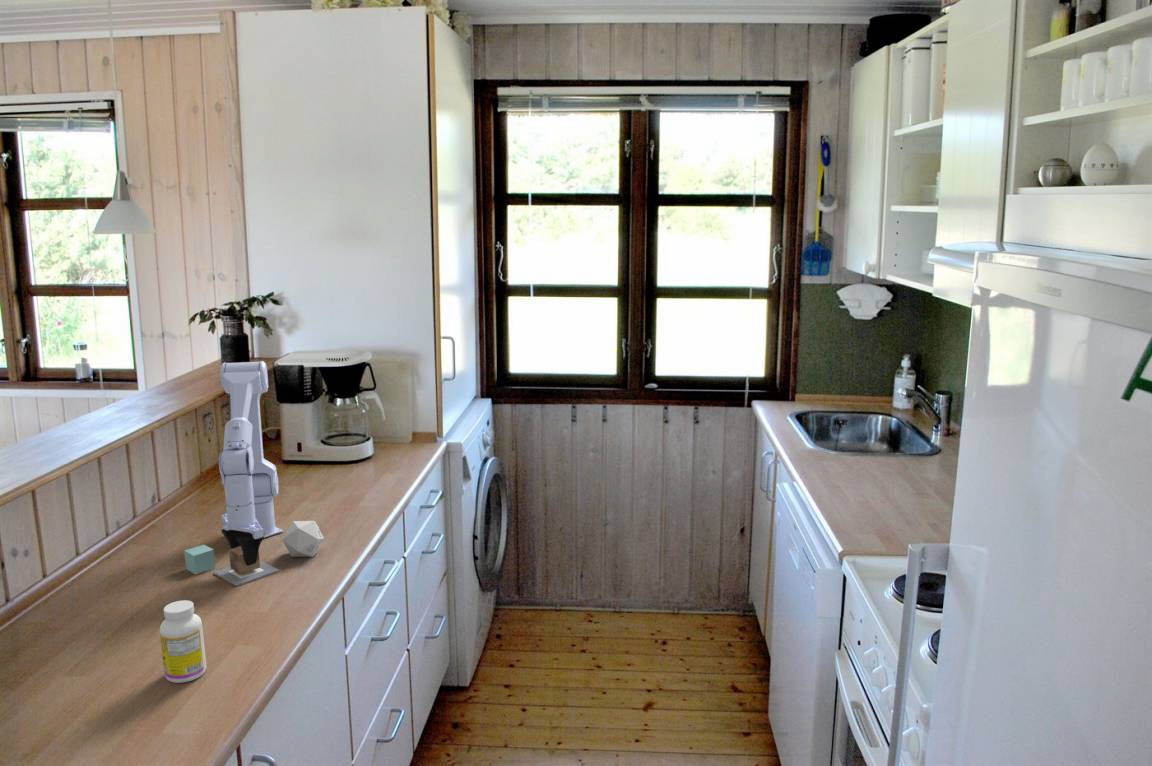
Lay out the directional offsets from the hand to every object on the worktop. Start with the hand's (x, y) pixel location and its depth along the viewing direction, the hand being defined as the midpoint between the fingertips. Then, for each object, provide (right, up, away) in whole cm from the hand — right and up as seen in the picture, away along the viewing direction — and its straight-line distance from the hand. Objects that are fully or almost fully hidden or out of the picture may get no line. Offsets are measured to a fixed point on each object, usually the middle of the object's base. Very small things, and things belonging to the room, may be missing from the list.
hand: (245, 560), depth 188 cm
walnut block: (0, -2, 0) cm, 2 cm away
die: (+10, -1, +10) cm, 14 cm away
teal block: (-11, -2, +3) cm, 12 cm away
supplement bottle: (+5, -12, -40) cm, 42 cm away
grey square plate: (0, -3, +1) cm, 3 cm away
